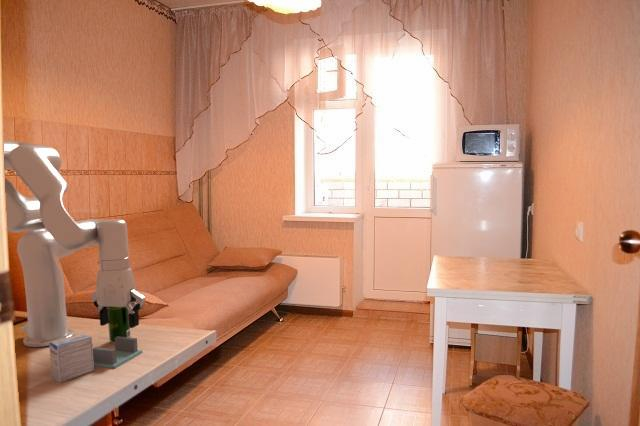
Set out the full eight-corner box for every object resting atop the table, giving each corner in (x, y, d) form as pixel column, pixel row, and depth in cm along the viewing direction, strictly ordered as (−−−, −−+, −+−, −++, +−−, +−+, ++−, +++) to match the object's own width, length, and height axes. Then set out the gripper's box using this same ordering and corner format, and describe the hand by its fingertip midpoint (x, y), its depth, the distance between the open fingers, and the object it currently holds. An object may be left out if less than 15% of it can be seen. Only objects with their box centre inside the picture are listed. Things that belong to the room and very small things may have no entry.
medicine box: (85, 367, 118) (83, 332, 117) (94, 371, 115) (92, 335, 115) (51, 378, 112) (48, 342, 111) (60, 383, 109) (57, 346, 108)
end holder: (88, 364, 119) (87, 349, 119) (117, 350, 129) (115, 335, 128) (115, 368, 117) (114, 352, 116) (142, 352, 126) (141, 337, 126)
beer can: (132, 336, 139) (129, 295, 138) (128, 343, 133) (125, 300, 132) (112, 338, 138) (109, 296, 137) (107, 345, 133) (104, 302, 131)
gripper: (79, 266, 133) (84, 327, 134) (132, 268, 127) (136, 332, 129) (99, 261, 140) (104, 319, 141) (150, 262, 134) (154, 323, 136)
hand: (119, 325), depth 135 cm, fingers open, 9 cm apart
